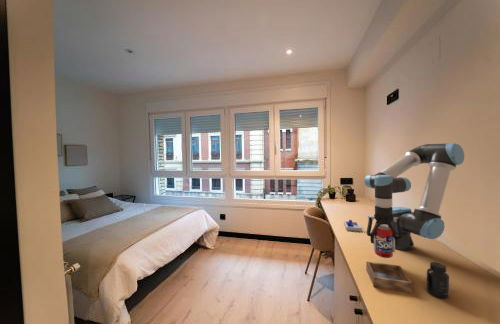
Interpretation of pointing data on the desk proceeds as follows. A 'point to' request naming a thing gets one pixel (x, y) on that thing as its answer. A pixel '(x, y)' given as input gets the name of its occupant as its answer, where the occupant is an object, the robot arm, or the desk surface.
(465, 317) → the desk surface
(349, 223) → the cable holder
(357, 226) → the grey desk tray
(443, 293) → the supplement bottle
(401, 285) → the walnut box
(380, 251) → the soda can
